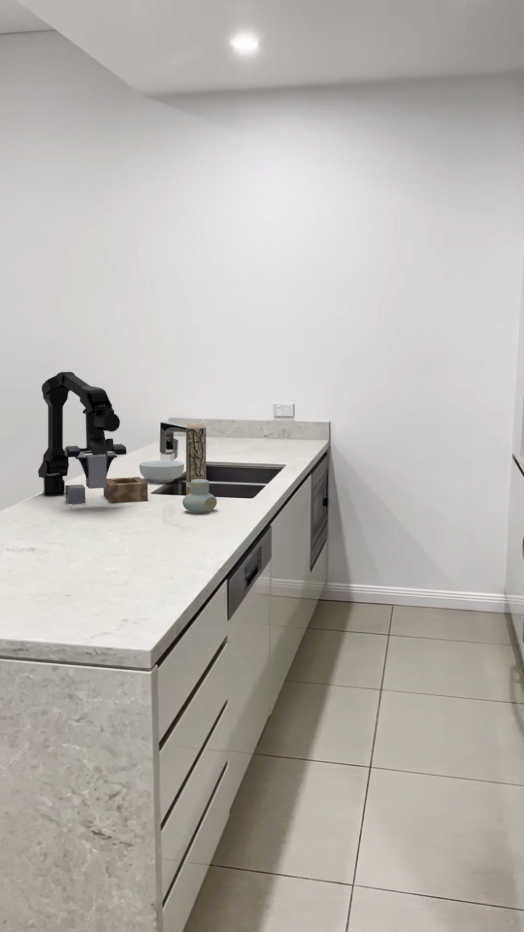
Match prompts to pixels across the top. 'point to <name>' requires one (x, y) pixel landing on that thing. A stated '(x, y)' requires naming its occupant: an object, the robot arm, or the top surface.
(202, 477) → the bark textured wooden post
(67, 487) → the gray cube
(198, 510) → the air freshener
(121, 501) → the brown wooden open box
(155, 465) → the cereal bowl
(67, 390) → the robot arm
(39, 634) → the top surface
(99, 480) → the grey rectangular block
